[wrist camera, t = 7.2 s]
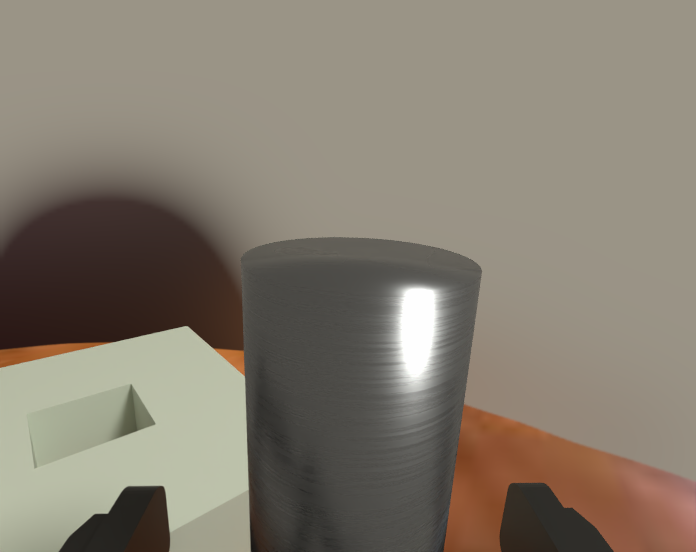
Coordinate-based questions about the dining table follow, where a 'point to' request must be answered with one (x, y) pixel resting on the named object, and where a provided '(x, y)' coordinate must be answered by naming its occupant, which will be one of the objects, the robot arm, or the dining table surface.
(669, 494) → the dining table surface
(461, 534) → the dining table surface
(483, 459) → the dining table surface
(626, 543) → the dining table surface
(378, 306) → the peg
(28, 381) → the hole block
